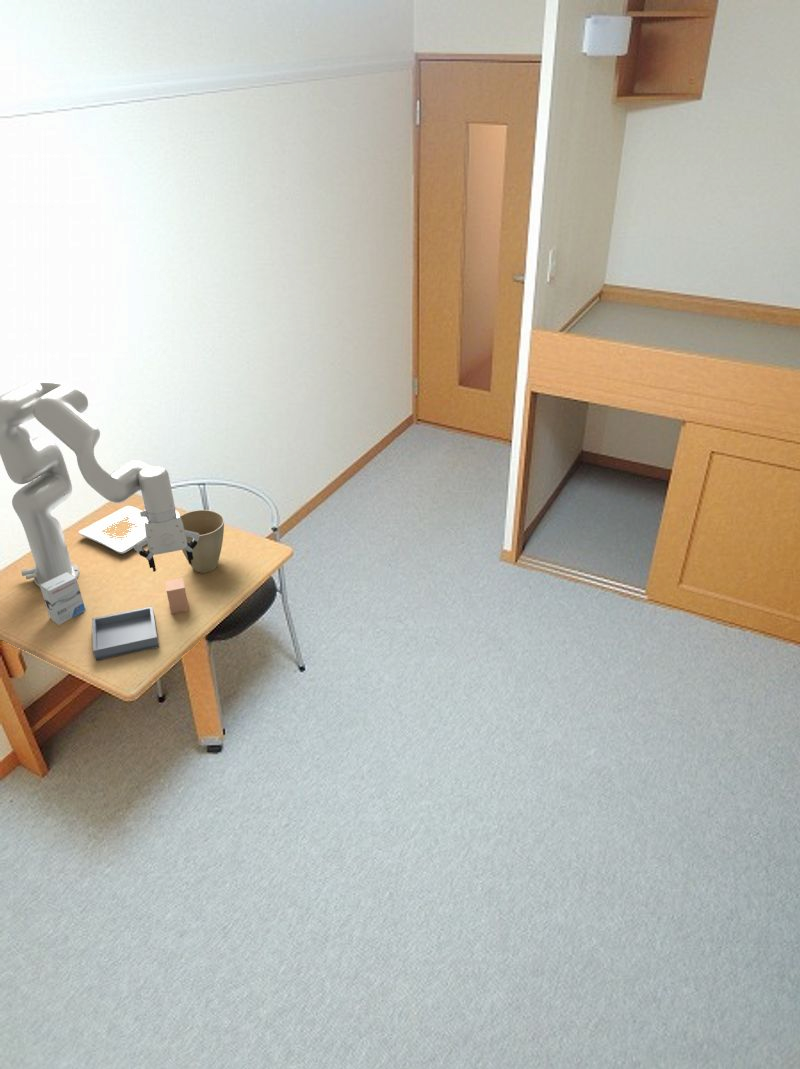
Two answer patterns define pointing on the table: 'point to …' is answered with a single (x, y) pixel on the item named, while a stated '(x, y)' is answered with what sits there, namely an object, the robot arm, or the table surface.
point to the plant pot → (204, 538)
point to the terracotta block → (176, 595)
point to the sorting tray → (124, 633)
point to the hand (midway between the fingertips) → (172, 565)
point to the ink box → (62, 597)
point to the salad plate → (116, 544)
